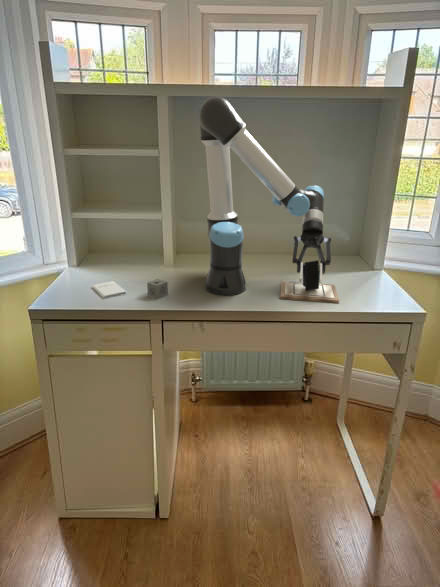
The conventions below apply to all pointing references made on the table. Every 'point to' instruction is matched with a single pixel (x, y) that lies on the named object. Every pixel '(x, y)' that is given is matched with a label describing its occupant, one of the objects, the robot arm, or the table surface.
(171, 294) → the table surface
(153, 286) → the dice cube
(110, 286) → the external hard drive
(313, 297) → the picture frame
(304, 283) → the speaker
